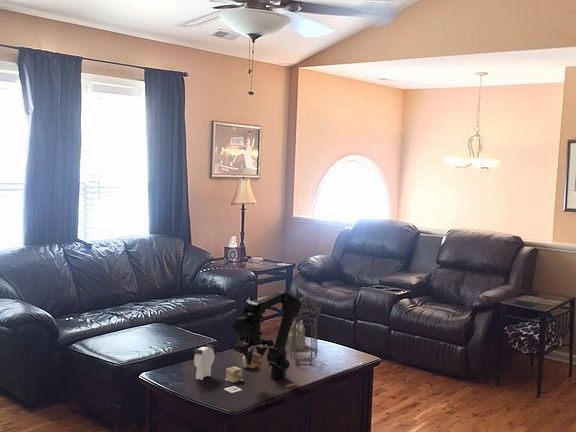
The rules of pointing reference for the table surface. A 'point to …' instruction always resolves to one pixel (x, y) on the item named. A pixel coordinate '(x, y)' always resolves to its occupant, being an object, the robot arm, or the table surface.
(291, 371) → the table surface
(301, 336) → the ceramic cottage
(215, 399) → the table surface
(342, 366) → the table surface
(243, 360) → the game die
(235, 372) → the oak block
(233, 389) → the board
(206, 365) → the white rounded piece
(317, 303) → the geometric lantern
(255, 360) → the walnut block
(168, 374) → the table surface
